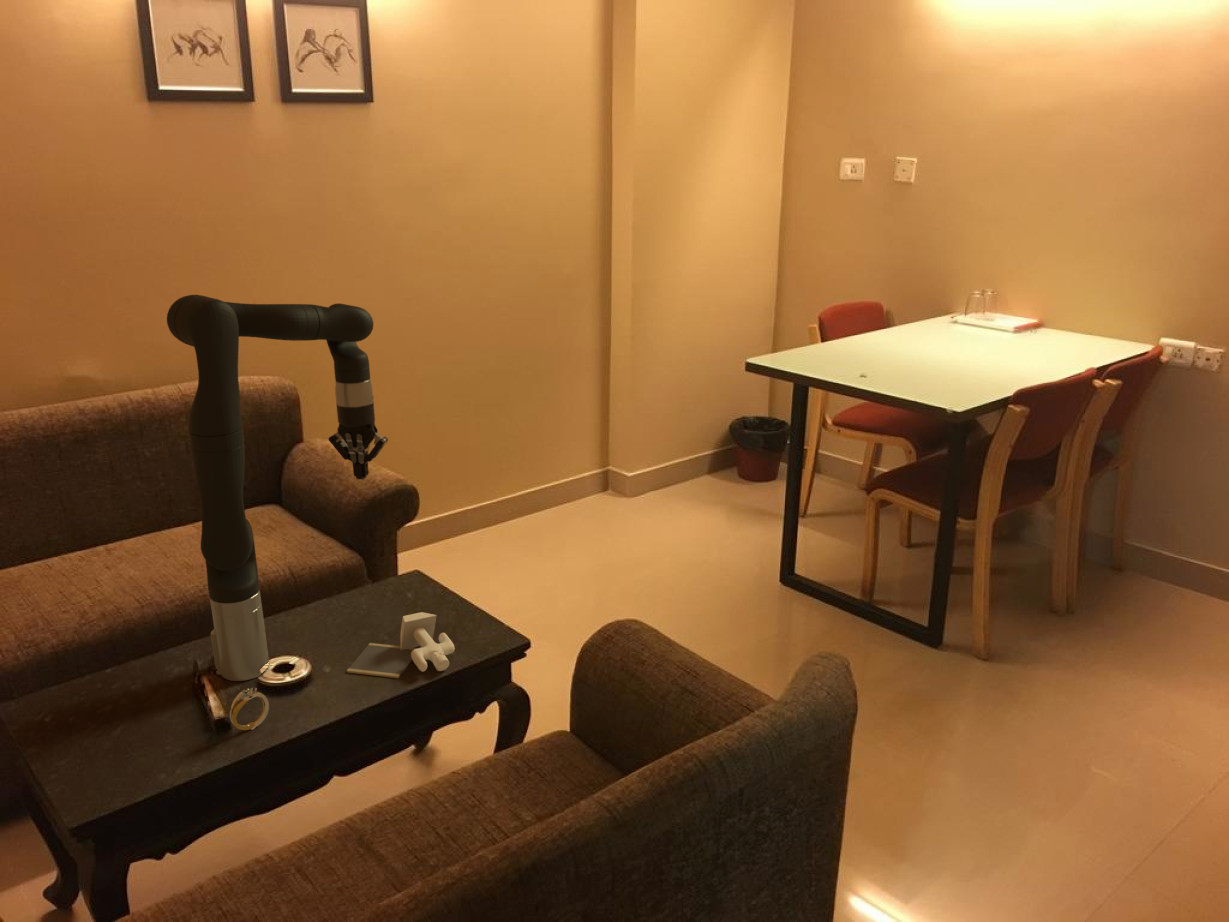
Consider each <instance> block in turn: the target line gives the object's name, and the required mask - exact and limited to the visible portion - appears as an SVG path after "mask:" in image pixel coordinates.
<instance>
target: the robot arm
mask: <svg viewBox="0 0 1229 922" xmlns="http://www.w3.org/2000/svg"><path fill="white" fill-rule="evenodd" d="M166 315H167V316H166V325H167V327H168V330H169V332H170V333H171V334H172V336H173V337H174V338H176V339H177V340H178V341H180V342H181V343H182V344H185V345H188V346H190V347H193V348H194V352H195V356H196V358H195V359H196V363H197V372H198V384H197V389H196V391H195V392H196V393H195V395H194V398H193V401H192V404H191V407H190V411H189V415H188V437H189V445H190V452H191V459H192V466H193V470H194V476H195V480H196V484H197V488H198V493H199V498H200V505H201V535H200V551H201V554H202V555H203V558H204V560H205V567H206V578H207V580H206V581H207V590H208V596H209V601H210V607H211V614H212V621H213V627H214V628H213V629H212V630H211V632H210V640H211V645H212V653H213V658H214V664H215V671H216V669H217V671H216V672H215V673H216V675H219V676H221V677H222V678H224V679H225V680H228V681H230V682H231V681H232V682H233V681H234V682H242V681H243V682H244V681H249V680H252V679H256V678H258V677H260V676H262V675H261V674H260V672H259V673H258V671H259V670H260V669H261V668H262V667H263V666H264V665H265V664H267V663H268V662H269V663H270V660H269V659H270V658H269V651H268V643H267V637H266V636H267V634H266V628H265V619H264V613H263V612H264V611H263V604H262V598H261V591H260V590H261V589H260V582H259V570H258V562H257V556H256V546H255V539H254V531H253V527H252V525H251V523H250V522H249V520H248V519H247V517H246V511H245V505H244V482H245V463H246V461H245V460H246V458H245V457H246V456H245V436H244V428H243V427H244V425H243V419H242V409H241V395H240V384H239V382H240V381H239V340H240V338H241V337H245V338H246V337H247V338H259V339H267V340H268V339H269V340H275V341H277V340H278V341H289V342H290V341H294V342H297V341H303V342H305V341H319V340H320V341H321V340H322V341H323V340H325V341H326V344H327V347H328V349H329V352H330V354H331V357H332V360H333V368H334V370H333V371H334V380H335V386H334V391H335V403H336V414H337V422H338V426H337V428H336V429H337V430H336V433H334V434H332V435H331V436H329V437H328V441H329V443H330V444H331V445H332V446H333V447H334V448H335V450H336V451H337V452H338V453H339V455H340V456H341V457H342V459H343V460H348V461H350V462H351V463H352V471H353V476H354V477H355V479H356V480H361V481H362V480H363V481H364V480H365V479H366V478H367V476H369V473H370V472H369V462H371V461H373V460H374V459H375V458H376V457H377V456H378V455H379V453H380V452H381V451H382V449H383V448H384V447H385V445H386V444H387V442H388V441H389V439H388V437H387V436H382V435H381V434H380V433H378V432H379V431H378V428H377V426H376V424H375V423H376V416H375V415H376V414H375V405H374V397H375V396H374V394H373V385H372V381H371V372H370V370H371V369H370V361H369V356H368V354H367V353H366V352H365V351H363V350H362V349H361V348H360V347H359V346H358V344H357V342H361V341H364V340H366V339H367V338H368V337H369V336H370V335H372V332H373V329H374V320H373V317H372V315H371V314H370V312H368V311H367V310H366V309H365V308H363V307H360V306H355V305H351V304H345V303H333V304H331V305H329V306H323V305H318V304H311V303H310V304H309V303H307V304H306V303H241V302H229V301H224V300H220V299H218V298H213V297H210V296H205V295H202V294H201V295H200V294H189V295H185V296H182V297H179V298H178V299H177V300H175V301H174V302H173V303H172V304H171V305H170V307H169V309H168V310H167V314H166ZM371 443H373V444H374V447H373V448H372V449H370V447H371V446H370V445H371ZM369 450H370V451H369Z"/></svg>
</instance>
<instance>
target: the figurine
mask: <svg viewBox="0 0 1229 922" xmlns="http://www.w3.org/2000/svg"><path fill="white" fill-rule="evenodd" d="M437 617H438V616H437V614H433V613H428V612H424V611H423V612H422V611H421V612H417V613H412V614H407V615H403V616H402V620H401V627H400V640H399V641H400V646H401V650H404V649H408V648H418V649H415V650H413V651H412V652H411V657H412V661H413V663H414V664H415V666H416V667H417V669H418V670H419V671H421V673H422V672H425V671H427V668H428V662H427V661H430V662H432V664H433V666H434V667H435V669H436V671H438V672H443V671H445V670H447V668H448V667H449V666H450V661H449V659H448V658H447V656H448V655H450V654H453V653H454V652H455V649H456V648H455V644H454V643H453V640H451V639H450V638H449V636H448V635H447V633H445V632H441V633H440V634H439V635H438V641H439V643H437V642H435V641H434V636H435V634H434V633H435V627H436V621H437Z"/></svg>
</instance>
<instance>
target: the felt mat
mask: <svg viewBox="0 0 1229 922" xmlns="http://www.w3.org/2000/svg"><path fill="white" fill-rule="evenodd" d="M418 648H419V647H413V648H408V649H404V650H401V645H392V644H384V643H383V644H382V643H374V642H369V643H368V645H367V646H366V647H365V648H364V649H363V651H362V652H361V653H360V654H359V656H357V658H356V659H355V660H354V661H353V663H352V664H351V665H350V666H349V667H347V669H346V673H349V674H358V675H368V676H374V677H375V676H376V677H385V678H393V679H399V678H400V677H401V675H402V674H403V673H404V672H405V671H406V669H407V668H408V666H409V665H410V664H411V662H412V661H413V660H412V657H411V652H412V651H413V650H415V649H418Z"/></svg>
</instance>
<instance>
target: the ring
mask: <svg viewBox="0 0 1229 922" xmlns="http://www.w3.org/2000/svg"><path fill="white" fill-rule="evenodd" d="M253 688H254V687H251V688H249V687H248V688H247V687H246V689H245V688H243V689H241V691H240V692H239V693H238V694H237V695H236V697H235V698H234V700H233V701H232V703H231V707H230V710H229V718H230V721H231V723H232V725H233V726H234V727H235V728H237V729H238V730H241V731H248V730H251V731H252V730H255V729H256V728H257V727H258V726H260V725H261V724H262V723H263V722H264V720H265V719H266V718H267V715H268V714H269V710H270V703H269V700H268V698H267V696H266V695H264V693H262V692H259V691H257V689H258V688H257V687H255V688H254V689H253ZM253 690H254V691H253ZM253 698H259V699H260V701H261V702H262V710H261V711H262V712H261V714H260V715H259V717H258V718H257V719H256V720H255V721H254V722H253V721H251V722H249V723H248V724H246V725H245V724H244V725H243V724H239V723H238V721H237V716H238V714H239V712H240V711H241V709H242V708H243V707H244V706H245V705H246V704H247V702H248V701H250V700H252V699H253ZM240 700H241V701H240ZM239 701H240V702H239Z"/></svg>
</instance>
